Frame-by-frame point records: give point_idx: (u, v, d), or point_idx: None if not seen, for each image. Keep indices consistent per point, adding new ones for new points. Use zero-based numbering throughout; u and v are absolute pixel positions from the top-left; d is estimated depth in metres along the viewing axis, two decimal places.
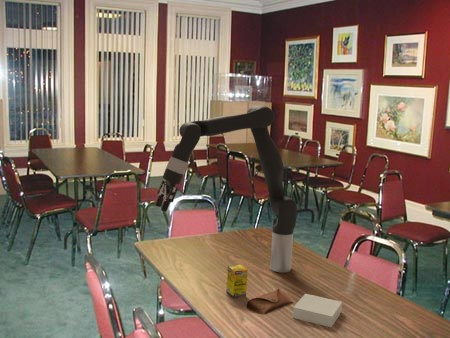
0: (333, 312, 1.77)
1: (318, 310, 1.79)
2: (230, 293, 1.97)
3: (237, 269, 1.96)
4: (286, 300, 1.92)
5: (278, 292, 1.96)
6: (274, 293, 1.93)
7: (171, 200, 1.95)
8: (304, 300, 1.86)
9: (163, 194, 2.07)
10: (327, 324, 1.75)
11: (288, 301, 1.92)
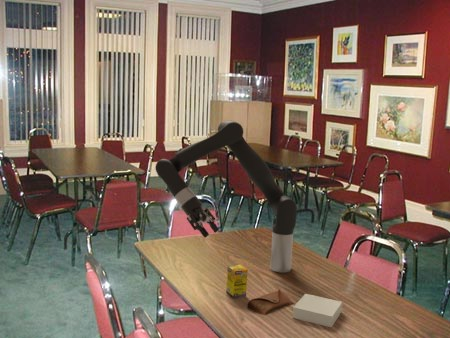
0: (333, 312, 1.77)
1: (318, 310, 1.79)
2: (230, 293, 1.97)
3: (237, 269, 1.96)
4: (287, 301, 1.92)
5: (279, 293, 1.95)
6: (275, 293, 1.92)
7: (196, 226, 1.95)
8: (304, 300, 1.86)
9: (213, 218, 2.06)
10: (327, 324, 1.75)
11: (289, 302, 1.92)
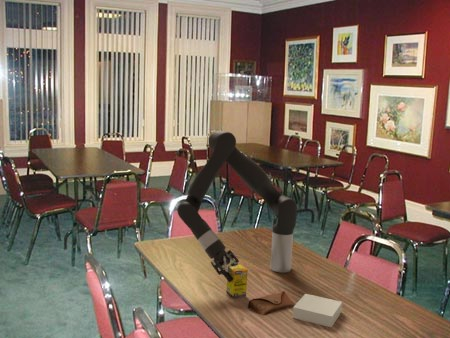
0: (333, 312, 1.77)
1: (318, 310, 1.79)
2: (230, 293, 1.97)
3: (237, 269, 1.96)
4: (290, 303, 1.90)
5: (283, 294, 1.94)
6: (278, 295, 1.91)
7: (221, 271, 1.93)
8: (304, 300, 1.86)
9: (236, 261, 2.04)
10: (327, 324, 1.75)
11: (292, 304, 1.90)
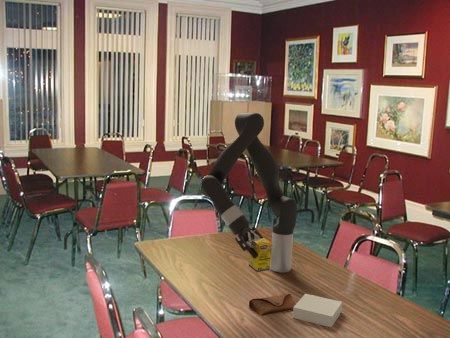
0: (333, 312, 1.77)
1: (318, 310, 1.79)
2: (253, 267, 1.91)
3: (262, 243, 1.89)
4: (292, 306, 1.88)
5: (288, 297, 1.92)
6: (281, 297, 1.90)
7: (245, 247, 1.87)
8: (304, 300, 1.86)
9: (261, 237, 1.98)
10: (327, 324, 1.75)
11: None
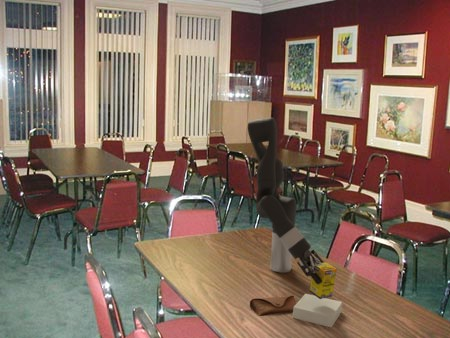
0: (333, 312, 1.77)
1: (318, 310, 1.79)
2: (316, 294, 1.80)
3: (326, 268, 1.78)
4: None
5: (290, 298, 1.90)
6: (283, 298, 1.89)
7: (309, 272, 1.76)
8: (304, 300, 1.86)
9: (321, 261, 1.87)
10: (327, 324, 1.75)
11: None
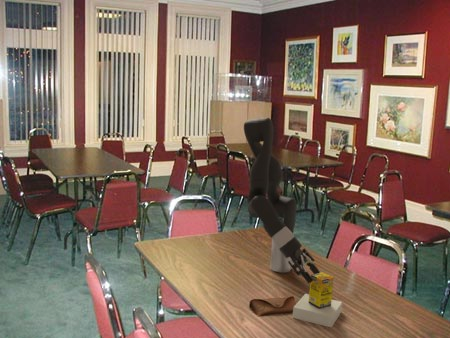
0: (333, 312, 1.77)
1: (318, 310, 1.79)
2: (315, 304, 1.81)
3: (323, 277, 1.80)
4: None
5: (290, 299, 1.90)
6: (283, 299, 1.88)
7: (300, 271, 1.78)
8: (304, 300, 1.86)
9: (312, 260, 1.89)
10: (327, 324, 1.75)
11: None
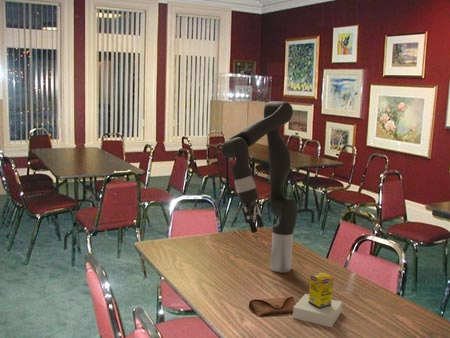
0: (333, 312, 1.77)
1: (318, 310, 1.79)
2: (315, 304, 1.81)
3: (323, 277, 1.80)
4: (292, 309, 1.85)
5: (289, 299, 1.89)
6: (282, 299, 1.87)
7: (249, 220, 1.88)
8: (304, 300, 1.86)
9: (261, 213, 2.00)
10: (327, 324, 1.75)
11: None
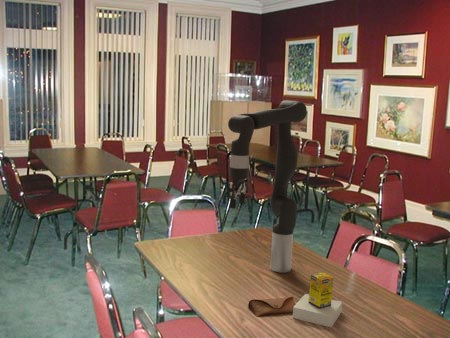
0: (333, 312, 1.77)
1: (318, 310, 1.79)
2: (315, 304, 1.81)
3: (323, 277, 1.80)
4: (292, 309, 1.85)
5: (289, 300, 1.89)
6: (282, 299, 1.87)
7: (231, 196, 1.96)
8: (304, 300, 1.86)
9: (246, 191, 2.07)
10: (327, 324, 1.75)
11: None
